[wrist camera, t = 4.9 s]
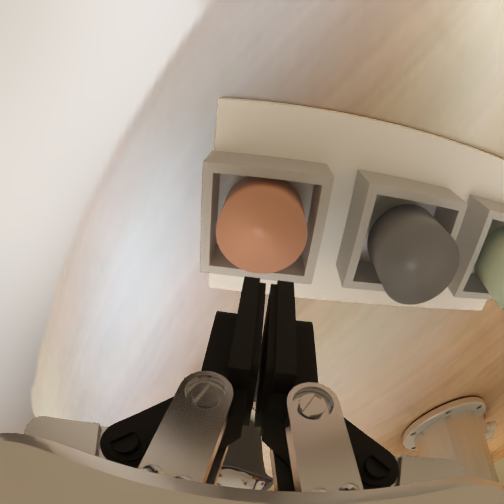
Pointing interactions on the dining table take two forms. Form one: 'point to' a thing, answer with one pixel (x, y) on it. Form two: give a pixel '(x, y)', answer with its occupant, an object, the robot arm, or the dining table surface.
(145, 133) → the dining table surface
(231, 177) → the panel
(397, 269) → the charcoal button
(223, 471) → the sundae
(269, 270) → the terracotta button
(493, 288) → the sage button
